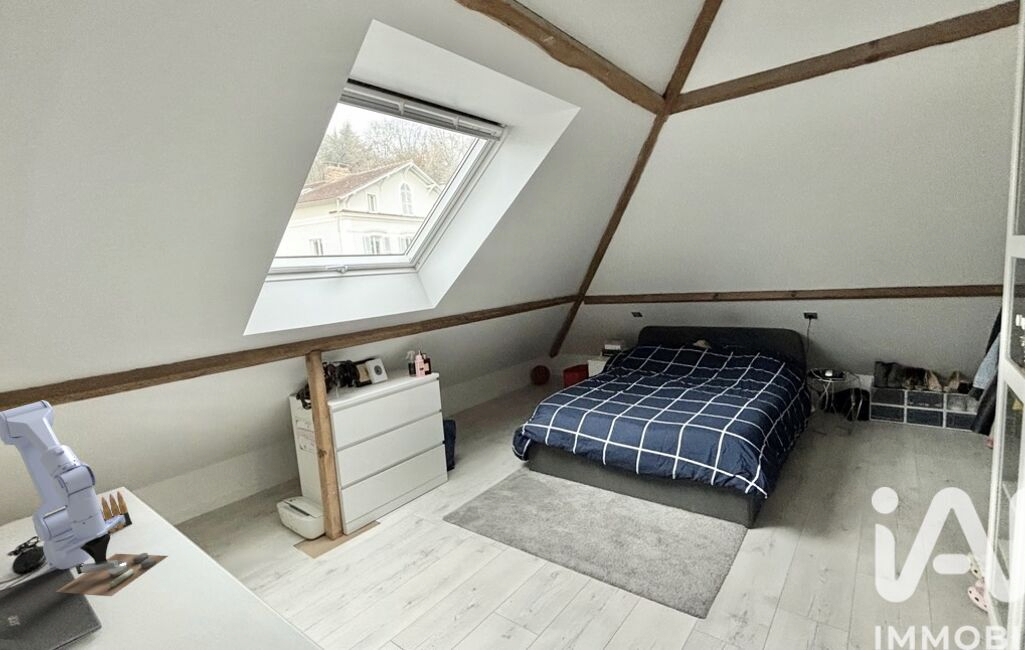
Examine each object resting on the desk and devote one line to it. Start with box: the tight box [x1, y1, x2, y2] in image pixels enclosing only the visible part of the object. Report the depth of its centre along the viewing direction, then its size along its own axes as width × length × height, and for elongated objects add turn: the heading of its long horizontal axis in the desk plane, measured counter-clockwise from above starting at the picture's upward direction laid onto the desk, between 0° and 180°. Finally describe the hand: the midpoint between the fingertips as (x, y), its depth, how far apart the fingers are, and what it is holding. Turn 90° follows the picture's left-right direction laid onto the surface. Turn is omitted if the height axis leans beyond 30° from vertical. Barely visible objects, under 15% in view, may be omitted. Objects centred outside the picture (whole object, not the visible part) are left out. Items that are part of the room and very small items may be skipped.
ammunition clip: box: [100, 490, 133, 535], centre depth 139 cm, size 11×2×12 cm, turn 137°
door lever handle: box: [75, 560, 129, 578], centre depth 118 cm, size 12×4×3 cm, turn 90°
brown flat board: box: [55, 552, 169, 597], centre depth 119 cm, size 18×14×3 cm
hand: (101, 565), depth 119 cm, fingers closed, pressing on door lever handle
